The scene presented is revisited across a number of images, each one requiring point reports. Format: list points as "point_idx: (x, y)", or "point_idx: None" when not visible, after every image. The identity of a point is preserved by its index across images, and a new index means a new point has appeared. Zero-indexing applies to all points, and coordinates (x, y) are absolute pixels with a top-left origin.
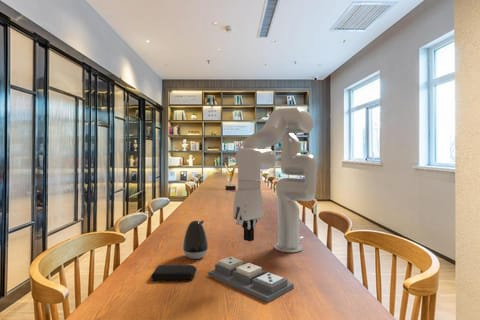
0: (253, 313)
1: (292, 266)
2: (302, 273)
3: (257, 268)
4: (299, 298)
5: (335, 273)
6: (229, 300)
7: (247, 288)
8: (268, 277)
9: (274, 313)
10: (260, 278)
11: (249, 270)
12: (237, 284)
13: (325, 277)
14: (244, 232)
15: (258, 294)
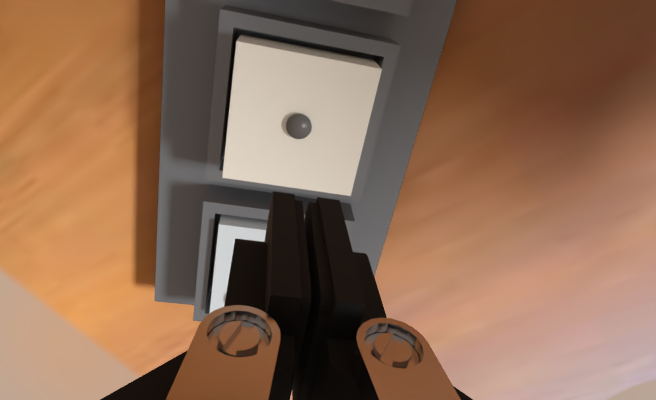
0: (40, 283)
1: (624, 195)
2: (541, 271)
3: (315, 185)
4: None
5: (592, 368)
6: (32, 135)
7: (161, 179)
8: None
9: (108, 338)
10: (228, 244)
11: (251, 159)
12: (162, 101)
13: (532, 355)
14: (228, 290)
15: (157, 248)
